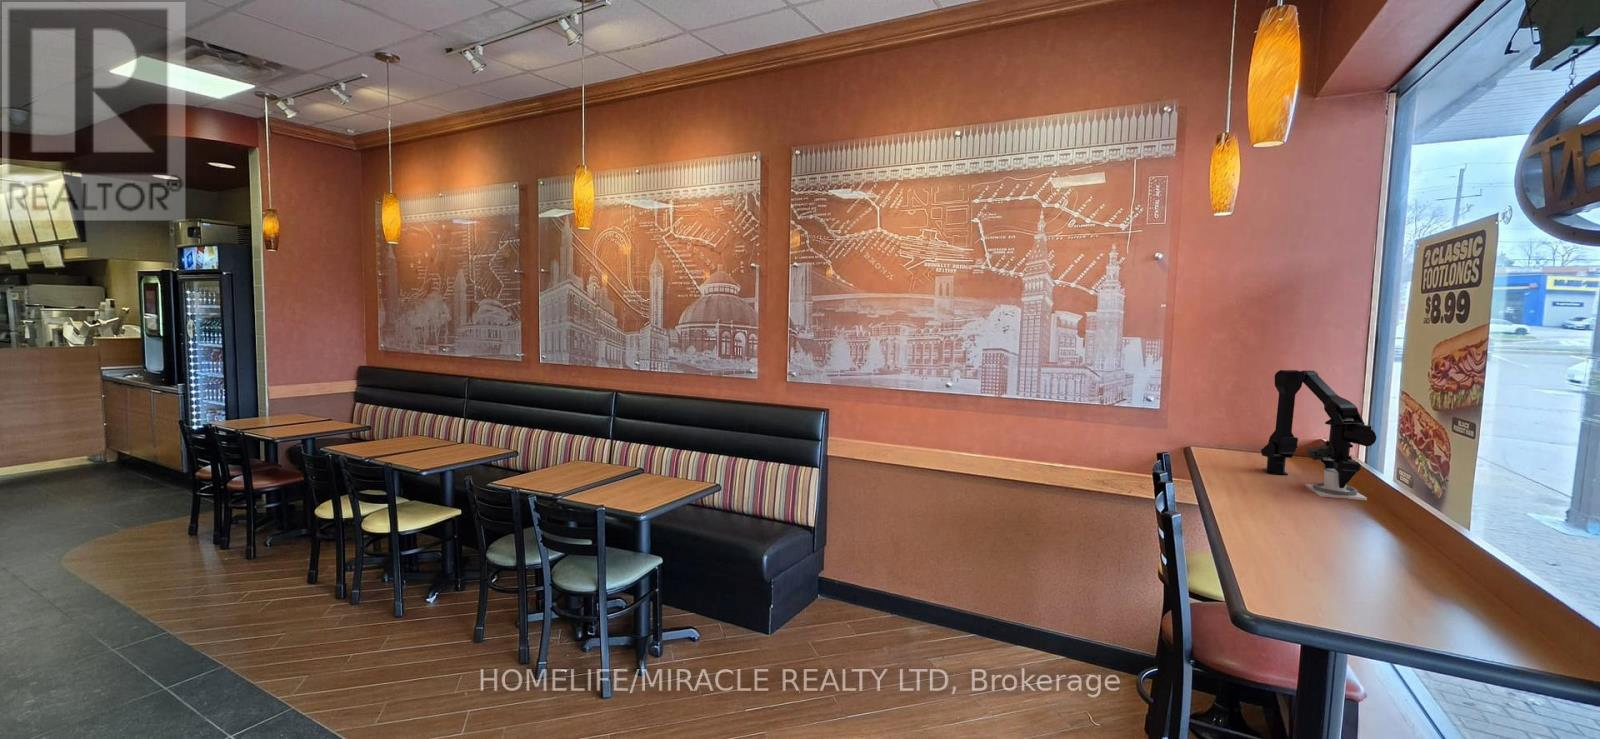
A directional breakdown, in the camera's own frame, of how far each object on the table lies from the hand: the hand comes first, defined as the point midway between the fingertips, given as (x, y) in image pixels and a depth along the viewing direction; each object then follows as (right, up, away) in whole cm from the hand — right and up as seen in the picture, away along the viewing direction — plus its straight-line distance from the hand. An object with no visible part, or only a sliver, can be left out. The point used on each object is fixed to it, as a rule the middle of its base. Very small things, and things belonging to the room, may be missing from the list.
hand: (1335, 484), depth 226 cm
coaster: (0, -3, 0) cm, 3 cm away
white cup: (0, -2, 0) cm, 2 cm away
